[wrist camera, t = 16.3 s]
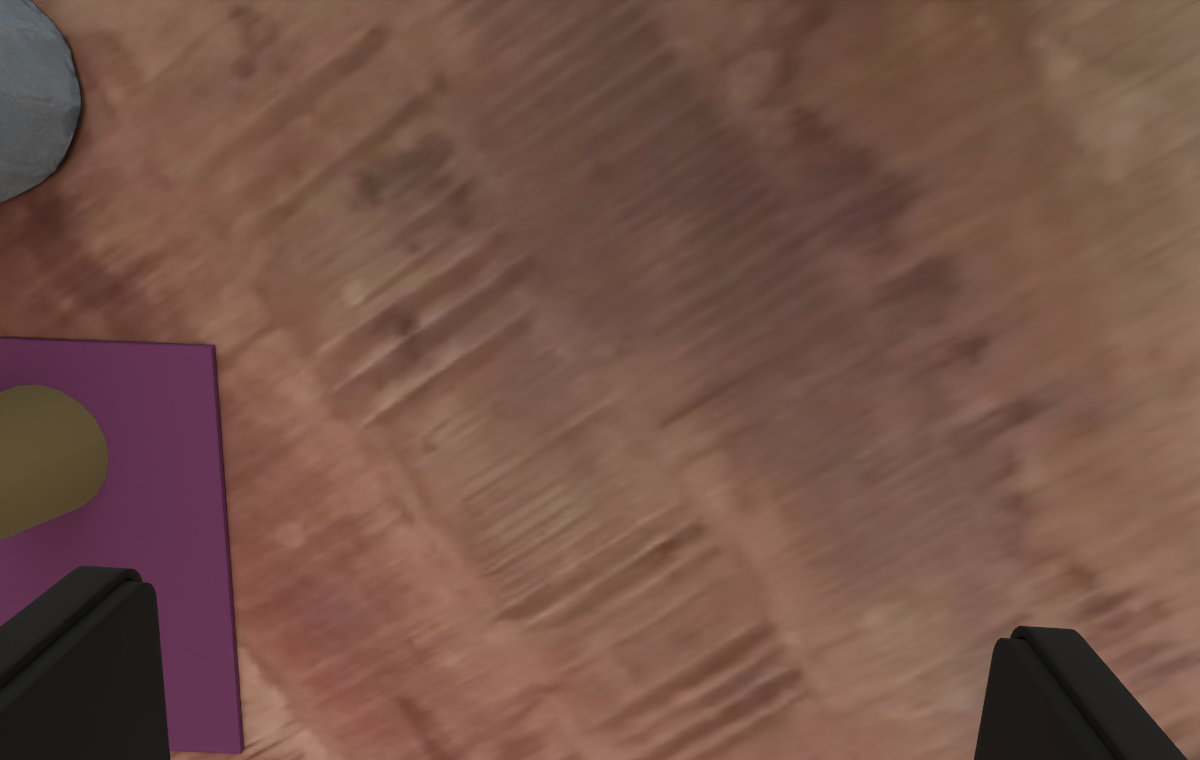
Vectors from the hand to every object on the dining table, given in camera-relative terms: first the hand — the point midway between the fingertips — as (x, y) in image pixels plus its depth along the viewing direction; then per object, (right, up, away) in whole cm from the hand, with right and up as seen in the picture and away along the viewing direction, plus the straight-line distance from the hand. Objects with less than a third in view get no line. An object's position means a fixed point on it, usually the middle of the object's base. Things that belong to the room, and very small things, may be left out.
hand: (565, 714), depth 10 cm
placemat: (-24, -4, +33) cm, 41 cm away
